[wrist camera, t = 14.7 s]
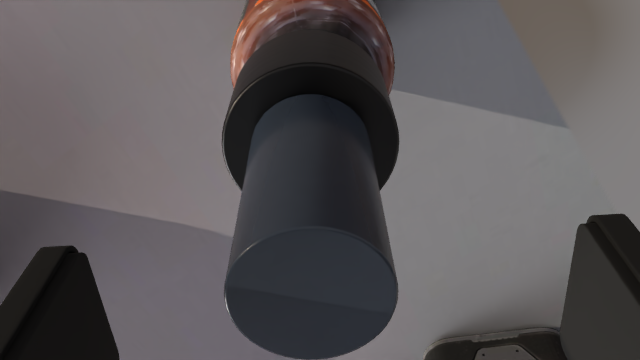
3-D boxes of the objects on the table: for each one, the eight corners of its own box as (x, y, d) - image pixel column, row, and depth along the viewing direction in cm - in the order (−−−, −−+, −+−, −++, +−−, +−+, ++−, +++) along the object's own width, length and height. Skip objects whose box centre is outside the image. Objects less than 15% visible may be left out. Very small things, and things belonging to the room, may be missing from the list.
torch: (385, 22, 17) (447, 176, 10) (388, 166, 20) (438, 381, 12) (222, 35, 18) (154, 197, 10) (244, 176, 20) (203, 395, 12)
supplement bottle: (281, 88, 30) (267, 210, 21) (225, -22, 28) (179, 58, 18) (391, 41, 29) (432, 146, 20) (344, -79, 27) (365, -26, 17)
